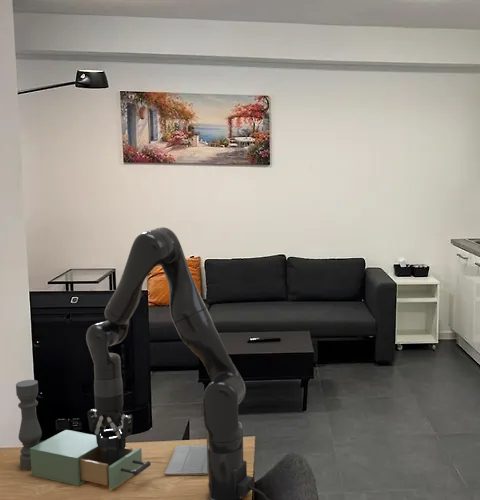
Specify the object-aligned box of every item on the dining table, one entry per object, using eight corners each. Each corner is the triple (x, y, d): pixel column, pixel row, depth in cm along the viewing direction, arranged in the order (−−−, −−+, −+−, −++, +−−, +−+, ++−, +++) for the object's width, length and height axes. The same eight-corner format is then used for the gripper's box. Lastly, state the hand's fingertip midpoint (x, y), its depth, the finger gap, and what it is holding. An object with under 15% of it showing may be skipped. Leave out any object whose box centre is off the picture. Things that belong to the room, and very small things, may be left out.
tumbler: (128, 465, 186) (126, 430, 185) (113, 475, 181) (112, 439, 179) (110, 461, 188) (109, 427, 187) (95, 471, 183) (93, 436, 181)
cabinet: (112, 464, 191) (110, 438, 190) (78, 486, 179) (76, 458, 177) (67, 454, 197) (66, 429, 196) (31, 475, 184) (29, 448, 183)
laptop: (176, 447, 202) (175, 407, 200) (217, 447, 203) (216, 407, 201) (164, 476, 184) (162, 432, 183) (208, 475, 185) (208, 431, 183)
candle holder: (34, 471, 187) (29, 387, 183) (15, 468, 188) (9, 386, 184) (48, 461, 193) (43, 380, 189) (30, 459, 194) (24, 378, 190)
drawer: (158, 472, 185) (157, 451, 184) (129, 493, 173) (128, 470, 172) (98, 459, 192) (97, 439, 191) (67, 479, 180) (66, 457, 180)
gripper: (78, 392, 180) (81, 449, 182) (120, 399, 175) (123, 458, 178) (97, 383, 187) (100, 438, 189) (138, 390, 182) (141, 446, 185)
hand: (111, 447), depth 184 cm, fingers closed on tumbler, 6 cm apart
